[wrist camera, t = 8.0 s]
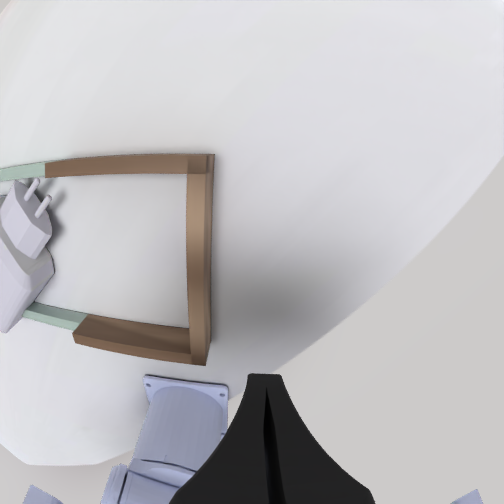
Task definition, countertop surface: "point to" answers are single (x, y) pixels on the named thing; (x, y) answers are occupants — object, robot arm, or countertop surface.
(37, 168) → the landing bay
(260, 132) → the countertop surface
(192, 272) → the brown wooden u-shaped frame
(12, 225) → the charger
